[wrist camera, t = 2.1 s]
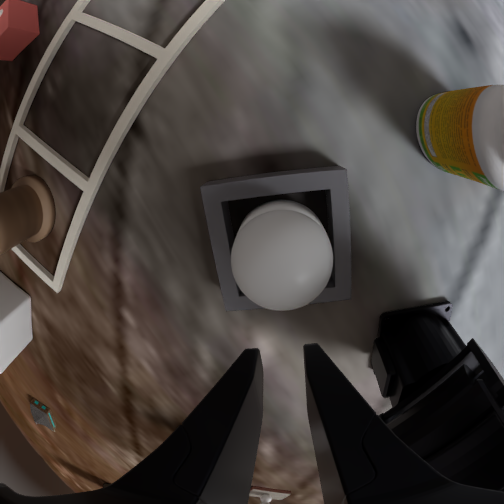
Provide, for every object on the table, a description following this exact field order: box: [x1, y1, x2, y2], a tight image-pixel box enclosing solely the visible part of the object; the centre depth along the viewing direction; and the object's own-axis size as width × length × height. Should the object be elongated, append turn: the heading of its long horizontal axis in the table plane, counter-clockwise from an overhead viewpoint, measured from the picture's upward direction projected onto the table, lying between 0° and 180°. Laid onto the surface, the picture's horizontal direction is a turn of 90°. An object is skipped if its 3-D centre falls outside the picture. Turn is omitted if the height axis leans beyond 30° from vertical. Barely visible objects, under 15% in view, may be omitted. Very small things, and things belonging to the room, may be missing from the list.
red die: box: [0, 0, 40, 61], centre depth 11 cm, size 4×4×4 cm
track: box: [0, 0, 225, 293], centre depth 15 cm, size 32×11×1 cm, turn 144°
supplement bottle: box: [416, 85, 504, 191], centre depth 10 cm, size 5×5×10 cm
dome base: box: [200, 166, 351, 311], centre depth 17 cm, size 8×8×2 cm
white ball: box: [231, 199, 333, 311], centre depth 15 cm, size 5×5×5 cm
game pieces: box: [30, 398, 291, 504], centre depth 32 cm, size 45×13×6 cm, turn 70°
